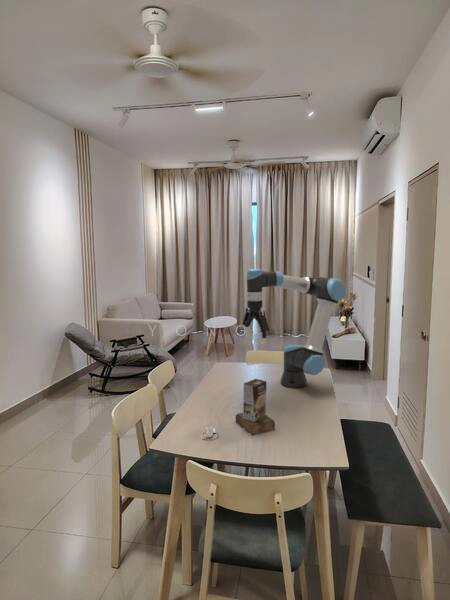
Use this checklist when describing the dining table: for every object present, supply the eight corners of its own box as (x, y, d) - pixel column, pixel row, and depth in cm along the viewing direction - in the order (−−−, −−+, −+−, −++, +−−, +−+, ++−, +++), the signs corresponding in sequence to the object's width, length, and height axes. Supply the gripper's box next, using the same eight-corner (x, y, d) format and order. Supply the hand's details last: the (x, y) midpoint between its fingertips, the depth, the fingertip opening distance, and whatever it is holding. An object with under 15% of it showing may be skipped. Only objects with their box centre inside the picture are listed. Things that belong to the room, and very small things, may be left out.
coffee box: (254, 422, 165) (254, 386, 163) (242, 418, 169) (242, 383, 167) (266, 415, 172) (266, 381, 170) (254, 411, 176) (255, 378, 174)
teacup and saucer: (209, 430, 168) (209, 421, 167) (223, 435, 163) (223, 426, 162) (196, 437, 161) (196, 428, 161) (210, 443, 156) (210, 434, 156)
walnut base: (258, 416, 180) (258, 408, 180) (274, 429, 168) (274, 420, 167) (235, 422, 175) (235, 413, 174) (251, 435, 162) (251, 426, 162)
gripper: (235, 298, 200) (236, 337, 202) (262, 303, 178) (263, 347, 181) (247, 296, 203) (248, 335, 206) (275, 302, 181) (276, 345, 184)
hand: (255, 341), depth 193 cm, fingers open, 13 cm apart
